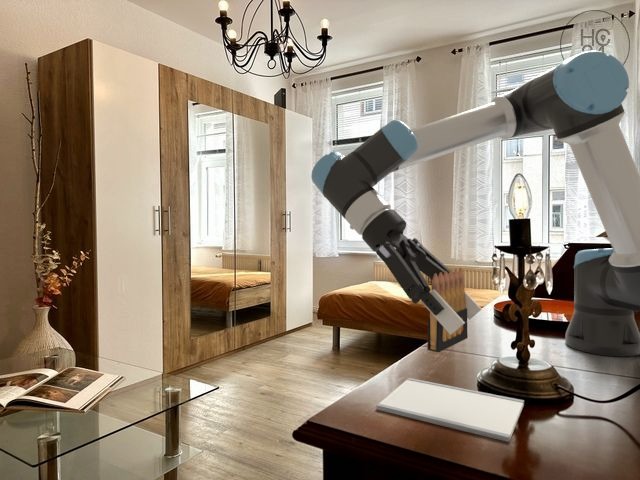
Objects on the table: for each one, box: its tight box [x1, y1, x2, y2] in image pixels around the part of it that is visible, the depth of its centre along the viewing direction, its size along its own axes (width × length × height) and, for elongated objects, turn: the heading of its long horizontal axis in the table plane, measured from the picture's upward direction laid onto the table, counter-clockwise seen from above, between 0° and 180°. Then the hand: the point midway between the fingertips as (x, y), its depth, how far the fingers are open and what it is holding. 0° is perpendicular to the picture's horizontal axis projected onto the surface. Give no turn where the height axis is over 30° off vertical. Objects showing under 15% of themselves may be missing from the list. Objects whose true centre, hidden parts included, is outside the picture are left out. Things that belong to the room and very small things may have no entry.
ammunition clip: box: [426, 267, 469, 353], centre depth 70 cm, size 11×2×12 cm, turn 138°
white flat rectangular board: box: [375, 377, 525, 443], centre depth 70 cm, size 20×14×1 cm
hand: (467, 321), depth 68 cm, fingers closed on ammunition clip, 10 cm apart
